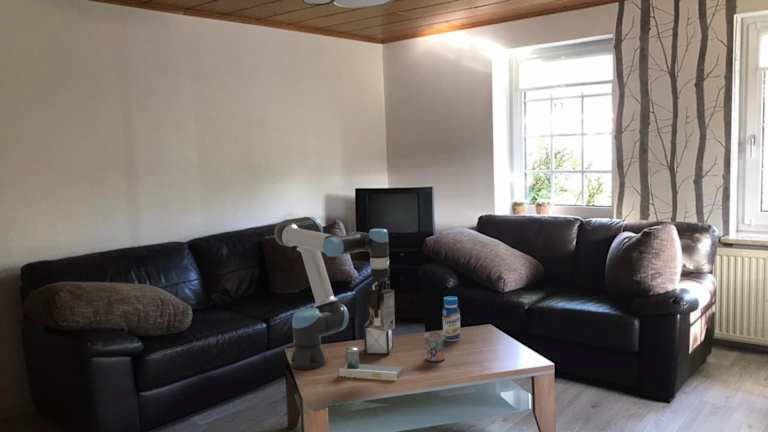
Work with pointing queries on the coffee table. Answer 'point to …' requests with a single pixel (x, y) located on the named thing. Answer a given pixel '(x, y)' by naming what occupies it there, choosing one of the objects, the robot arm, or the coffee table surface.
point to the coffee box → (384, 311)
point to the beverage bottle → (451, 319)
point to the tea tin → (352, 357)
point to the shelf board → (372, 372)
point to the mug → (434, 346)
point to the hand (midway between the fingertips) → (382, 322)
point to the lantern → (377, 340)
